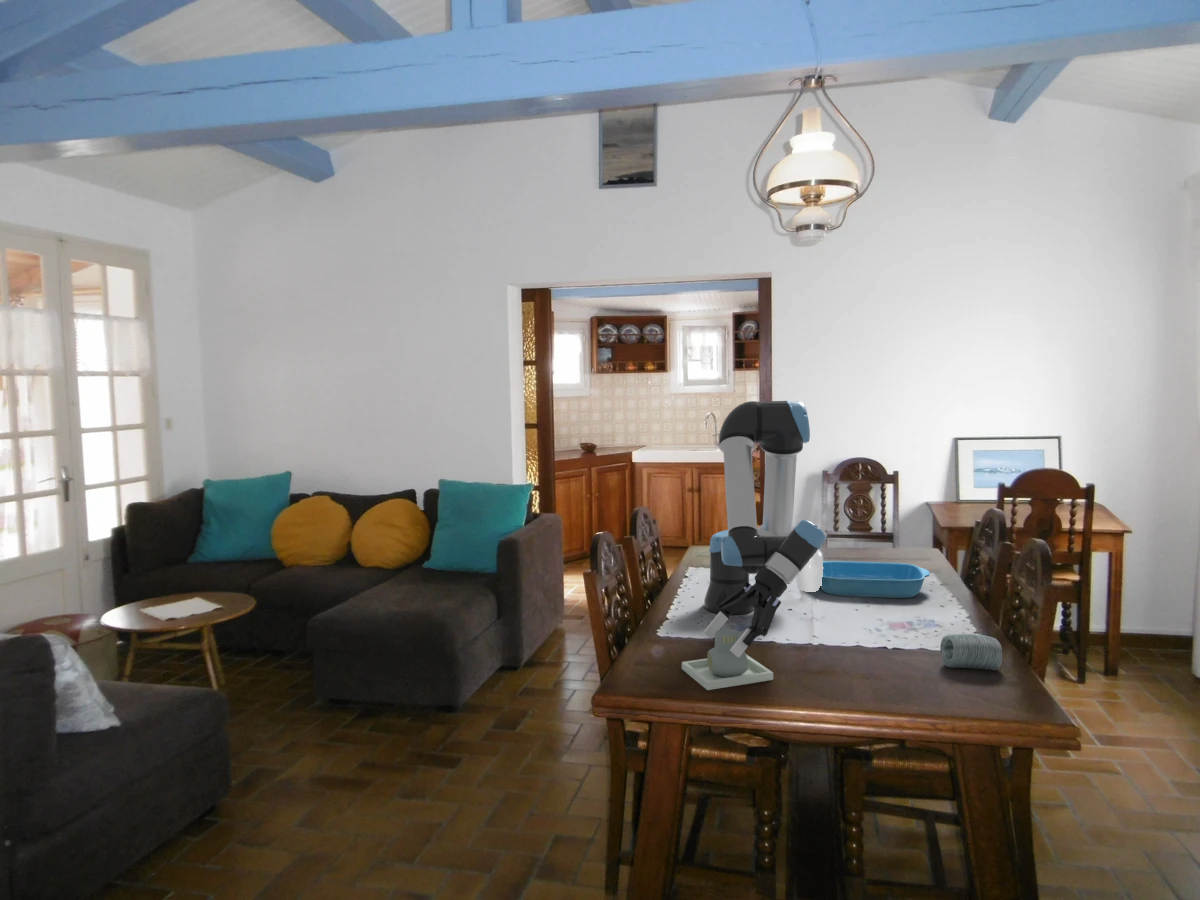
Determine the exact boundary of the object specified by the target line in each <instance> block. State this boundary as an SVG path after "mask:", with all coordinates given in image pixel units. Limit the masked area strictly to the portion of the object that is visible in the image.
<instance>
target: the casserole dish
mask: <svg viewBox="0 0 1200 900" xmlns="http://www.w3.org/2000/svg"><path fill="white" fill-rule="evenodd" d="M822 562H823V567H824V569H823V577H822V586H820V587H821V590H822V591H823V592H825V593H827V594H828V595H833V596H843V597H860V598H861V597H862V598H864V597H865V598H881V599H882V598H884V599H885V598H887V599H888V598H889V599H908V598H913V597H915V596H916V595H919V593H920V592H921V589H922V587H923V584H924V581H925V578H927V577H929V576H930V575H931V573H930V571H929V570H928V569H926V568H923V567H920V566H918V565H917V564H913V563H904V562H882V561H881V562H880V561H879V562H878V561H877V562H875V561H852V560H851V561H849V560H847V561H846V560H826V561H825V560H824V561H822Z"/></svg>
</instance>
